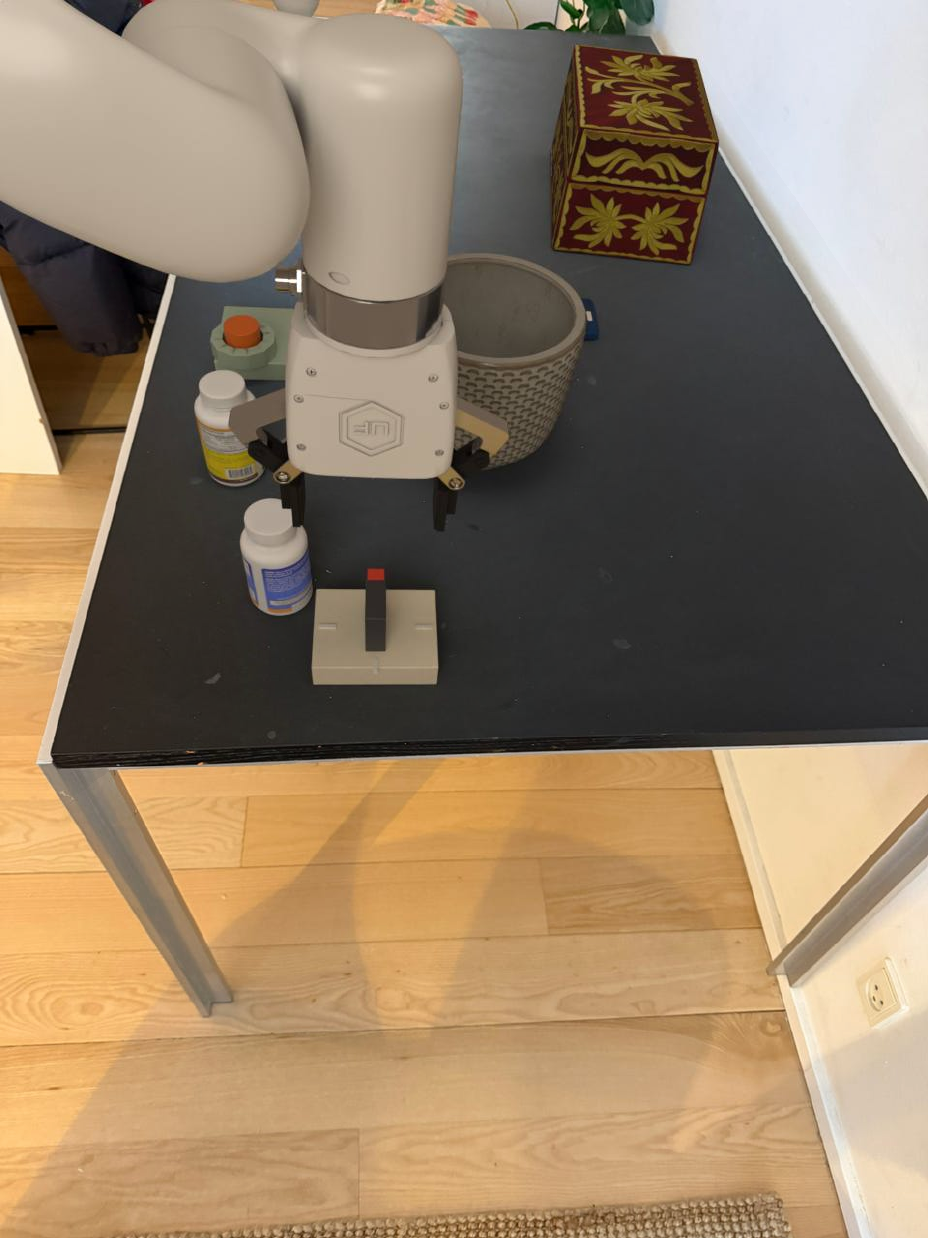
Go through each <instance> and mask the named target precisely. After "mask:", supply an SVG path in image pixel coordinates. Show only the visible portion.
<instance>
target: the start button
mask: <svg viewBox="0 0 928 1238" xmlns="http://www.w3.org/2000/svg"><path fill="white" fill-rule="evenodd" d="M223 327H224V333H225V339H226V343H227V344H228V345H229V346H231V347H233V348H241V349H247V348H250V347H254V346H257V345H258V344H259V343H260V341H261V335H260V327H259V323H258V321H257V320H256V319H255V318H253V317H251V316H247V315H237V316H233V317H230V318H228V319H227V320H226V321H225V322H224V326H223Z"/></svg>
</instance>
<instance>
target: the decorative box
mask: <svg viewBox="0 0 928 1238" xmlns="http://www.w3.org/2000/svg"><path fill="white" fill-rule="evenodd" d="M697 59H698V58H694V57H687V56H678V55H669V54H660V53H653V52H643V51H636V50H635V51H634V50H627V49H620V48H619V49H617V48H609V47H601V46H595V45H594V46H593V45H584V44H575V45H574V46H573V49H572V53H571V58H570V63H569V67H568V71H567V74H566V75H567V76H566V80H565V85H564V89H563V95H562V97H561V103H560V106H559V112H558V115H557V120H556V125H555V130H554V133H553V137H552V138H553V139H552V143H551V147H552V176H551V175H550V220H551V222H550V223H551V247H552V250H553V251H560V252H567V253H568V252H569V253H577V254H584V255H585V254H586V255H595V256H605V257H613V258H623V259H632V260H640V261H649V262H650V261H651V262H657V263H658V262H660V263H669V264H677V265H692V263H693V259H694V255H695V252H696V246H697V243H698V238H699V233H700V230H701V225H702V221H703V217H704V213H705V208H706V204H707V197H708V194H709V191H710V186H711V183H712V178H713V174H714V170H715V165H716V161H717V157H718V152H719V148H720V139H719V135H718V131H717V127H716V124H715V120H714V117H713V113H712V109H711V106H710V105H711V104H710V101H709V98H708V95H707V94H708V93H707V91H706V87H705V83H704V80H703V76H702V71H701V69H700V65H699V61H698V60H697Z"/></svg>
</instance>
